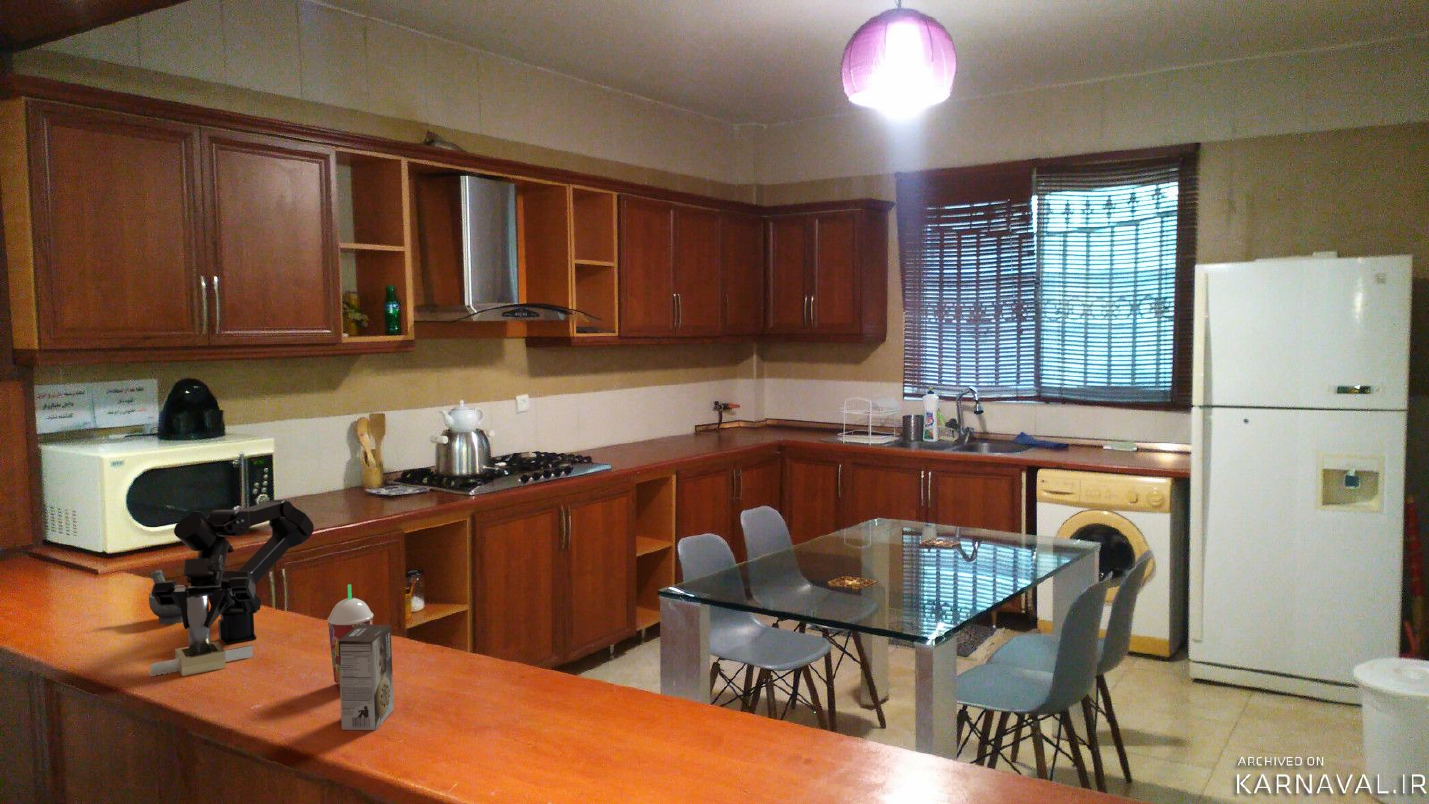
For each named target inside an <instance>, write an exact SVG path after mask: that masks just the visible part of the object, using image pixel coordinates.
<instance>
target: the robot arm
mask: <svg viewBox="0 0 1429 804" xmlns="http://www.w3.org/2000/svg"><path fill="white" fill-rule="evenodd" d="M266 522H268V525H269V526H270V528H271V537H269V538H268V540H267V541H266V542H265V543H264V544H263V545H262V546H261V547H260V548H259V549H258V550H257V551H256V552H255V553H254V554H253V555H252V556H251V557H250V558H249V559H248V560H247V561H246V562H245V563H244V564H243V565H242V566H241V567H240V568H239V570H225V567H226V562H227V558H228V554H230V553H234V552H235V549H234V547H233V546H232V545H231V543H230V541H229V540H227V539H226V538H225V537H233V538H234V537H235V538H238V537H239V538H240V537H241V536H243V535H244V534H246V533H248V532H249V531H250V529H251V527H254V526H256V525H260V524H263V523H266ZM314 529H315V525H314V523H313V522H312V520H311V519H310V517H309V516H308V515H307V514H306V513H305V512H303V511H301V510H300V509H298V508H297V507H295V506H294V505H293V504H292V503H291V501H288V500H287V499H271V500H268V501H266V502H262V503H259V504H255V505H252V506H249V507H245V508H241V509H214V510H211V512H209V515H208V516H207V517H206V516H205V513H203V512H202V511H200V510H199V511H196V510H192V511H191V512H190V514H189V515H188V516H185V517H183V518H181V519H180V520H179V521H178V522H177V523H176V524H175V526H174V529H173V534H174V535H175V537H176V538H177V539H178V540H180V541H181V542H182V543H183V544H184V545H185V546H186V547H187V548H189V549H190V550H191V551H194V552H197V556H196V558H187V559H184V564H183V566H184V567H183V576H186V582H187V583H189V584H190V585H186V584H178V583H177V581H176V580H165V581H159V582H156V583H155V584H154V583H153V585H152V589H151V593H152V594H153V596H154V598H155V599H156V601H157V603H158V604H159V605H162V606H165V605H177V607H179V608H180V609H181V614H182V620H183V622H182V625H183V628H184V630H188V621H187V602H186V597H187V596H189V595H193V594H199V593H205V594H208V600H209V604H210V606H209V614H208V618H207V623H206V626H207V628H210V629H211V627H212V625H213V624H214V623H215V621H216V620H217V619H218V618H219V616H220V618H219V619H218V620H217V625H218V627H217V628H218V629H217V630H218V638H219V639H220V640H221V641H222V643H223V644H224V645H230V644H237V643H240V642H245V641H246V642H247V641H253V640H256V639H257V636H256V634H255V619H254V614H257V613H258V611H259V610H261V606H262V600H261V598H259V597H258V595H256V585H257V584H258V583H259V582H260V580H261V579H263V577H264V576H265V575H266V574H267V573H268V572H269V571H270V570H271V569H272V568H273V567H274V566H275V564H277V562H278V561H279V560H280V559H281V558H282V557H283V556H284V555H285V554H286V553H287V551H289V550H290V549H292V548H295V547H297V546H300V545H302V544H304V543H305V542H307V540H308V539H310V538H311V536H312V535H313V533H314Z"/></svg>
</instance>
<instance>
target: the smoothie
mask: <svg viewBox="0 0 1429 804" xmlns="http://www.w3.org/2000/svg"><path fill="white" fill-rule="evenodd" d="M373 619H374V613H373V612H372V611H371V609H370V606H368V604H367V603H366V602H365V601H364V600H361V599H359V598H356V597H352V584H347V598H345V599H342V600H340V601H338V603H336V604H335V606H334V607H333V608H332V610H331V613H330V615H329V616H328V617H327V623H328V624H327V625H328V633H329V636H328V637H329V643H330V652H331V662H332V671H333V681H334V682H335V684H336V685H337V688H339V689H340V670H339V644H338V641H339V640H340V639H341V638H342V637H344V636H345V635H346V634H347V633H348V632H350V631H351V630H352V629H353V628H354V627H356V626H357V625H374V620H373Z"/></svg>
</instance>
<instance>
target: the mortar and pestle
mask: <svg viewBox="0 0 1429 804" xmlns="http://www.w3.org/2000/svg"><path fill="white" fill-rule="evenodd" d="M163 574H164V572H163V570H162V569H157V570H154V571H152V572H151V573H150V574H149V576H150V578H151V579H152V581H153V585H154V584H155V583H156V582H159V581H166V579H165V577H164V575H163ZM148 604H149V608H150V610H151V611H152V614H154V615H155V616H157V617H158V625H162V626H169V625H176V623H177V624H180V623H181V622H182V623H183V620H182V614H181V609H180V608H179V607H177V605H165V606H162V605H159V604H158V603H157V601H156V599H155V598H154V596H153V594H152V593H149V594H148ZM182 623H181V624H182Z"/></svg>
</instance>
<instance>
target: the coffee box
mask: <svg viewBox="0 0 1429 804" xmlns="http://www.w3.org/2000/svg"><path fill="white" fill-rule="evenodd" d="M391 627H392V626H391V625H387V624H385V625H379V624H373V625H357V626H356V627H354V628H353V629H352V630H351V631H350V632H348V633H347V634H346V635H345V636H344V637H342V638H341V639H340V640H339V641H338V644H339V670H340V688H339V692H340V711H341V712H340V715H341V718H340V719H341V730H343V731H345V730H347V731H377V730H378V728H379V727H380V726H381V725H382V724H383V723H384V721H385V720H387V718H388V717H389V716H390V714H392V712H393V711H394V710H395V704H394V703H395V702H394V699H395V698H394V697H395V696H394V679H393V677H394V675H393V655H392V654H393V653H392V652H393V651H392V631H391Z"/></svg>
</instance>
